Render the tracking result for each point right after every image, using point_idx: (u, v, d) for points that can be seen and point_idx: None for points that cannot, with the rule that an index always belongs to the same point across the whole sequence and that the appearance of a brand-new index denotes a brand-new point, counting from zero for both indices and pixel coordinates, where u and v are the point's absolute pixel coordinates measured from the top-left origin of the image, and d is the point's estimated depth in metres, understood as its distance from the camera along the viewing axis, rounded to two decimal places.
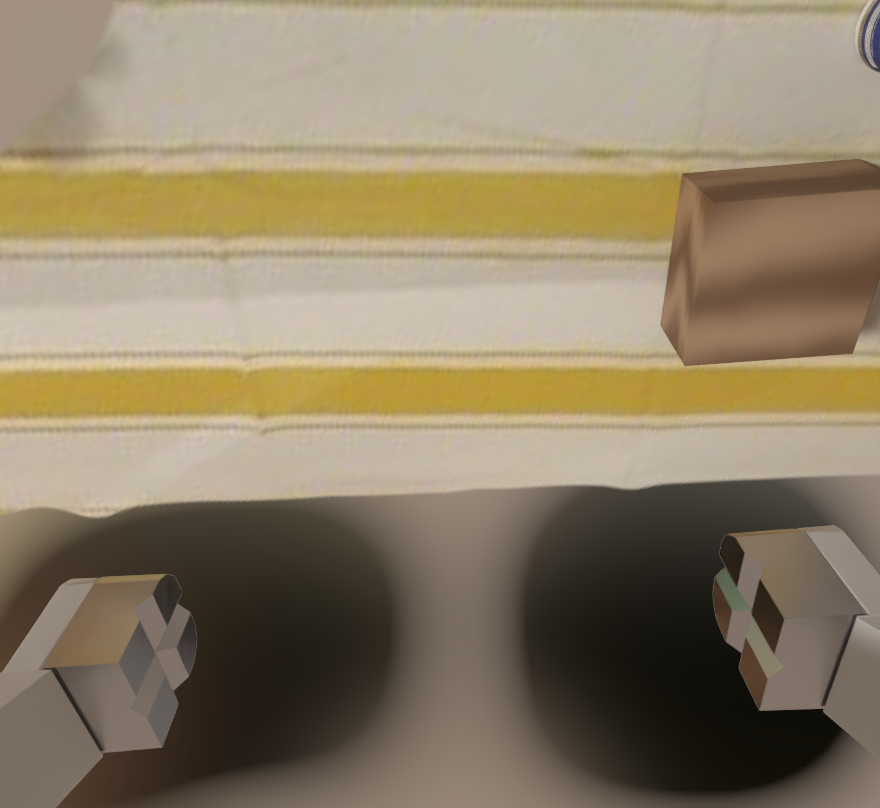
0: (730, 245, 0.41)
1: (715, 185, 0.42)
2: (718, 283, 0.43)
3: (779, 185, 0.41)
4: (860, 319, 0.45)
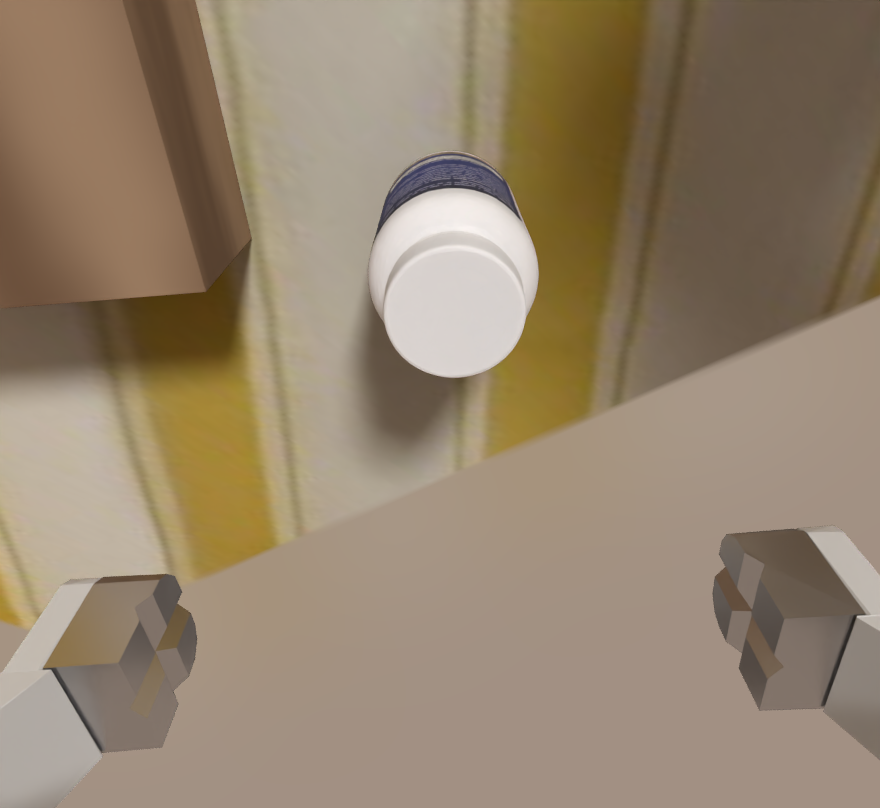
0: None
1: None
2: None
3: (162, 42, 0.19)
4: None
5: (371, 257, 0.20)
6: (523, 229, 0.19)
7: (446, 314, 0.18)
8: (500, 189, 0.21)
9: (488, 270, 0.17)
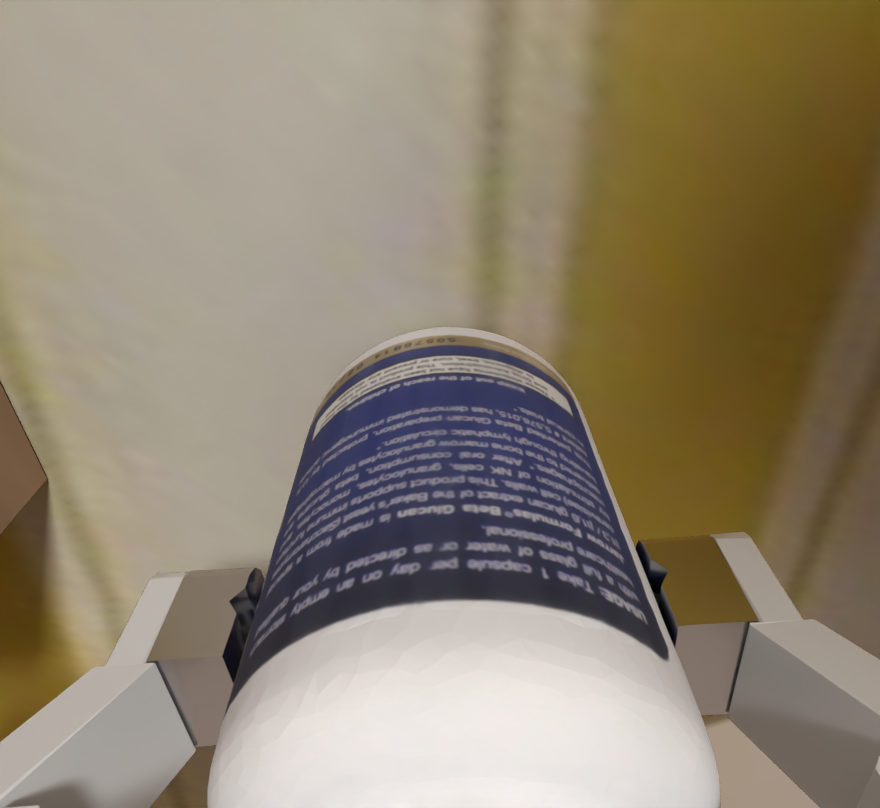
0: None
1: None
2: None
3: None
4: None
5: (209, 788, 0.06)
6: (691, 724, 0.06)
7: None
8: (586, 498, 0.08)
9: None
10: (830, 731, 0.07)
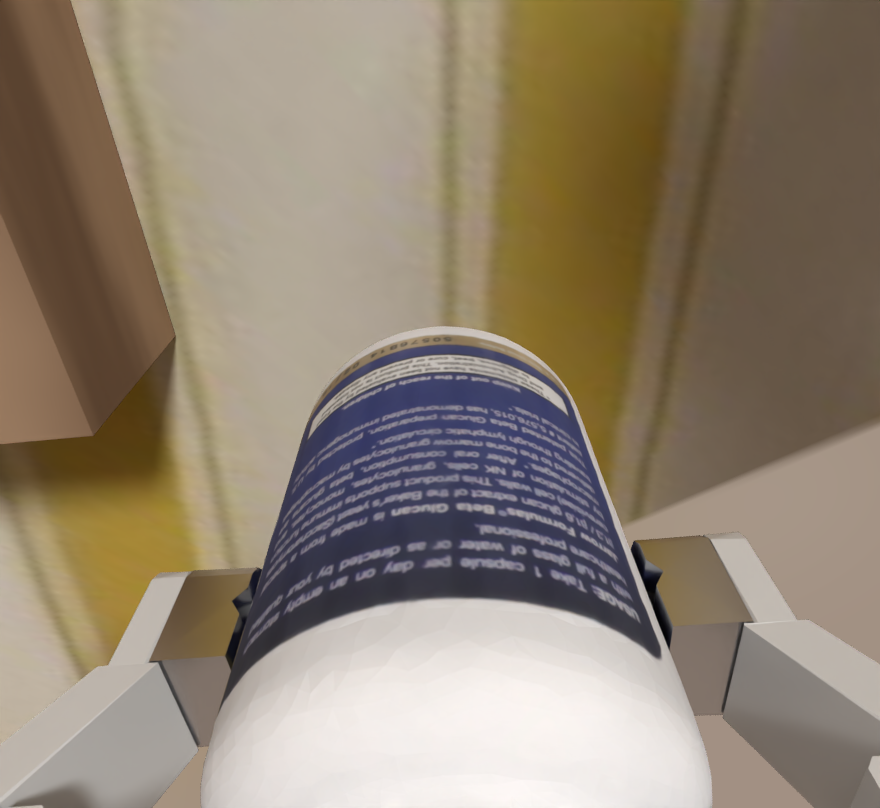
0: None
1: None
2: None
3: (17, 102, 0.14)
4: None
5: (203, 786, 0.06)
6: (682, 722, 0.06)
7: None
8: (580, 497, 0.08)
9: None
10: (824, 731, 0.07)
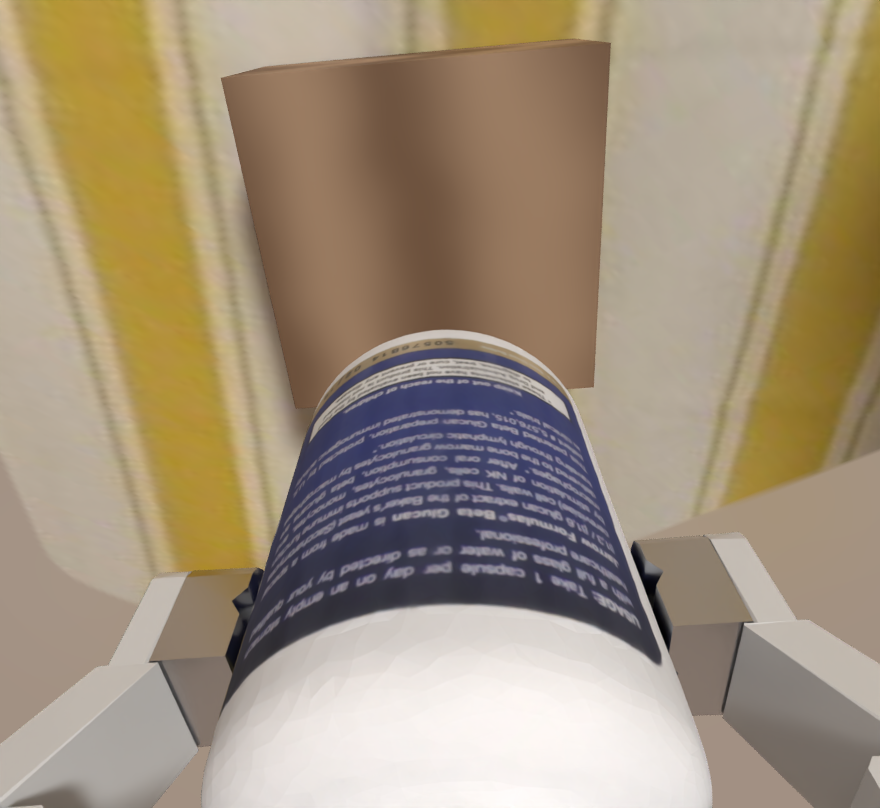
0: (516, 107, 0.20)
1: None
2: (431, 105, 0.20)
3: None
4: None
5: (203, 790, 0.06)
6: (682, 729, 0.06)
7: None
8: (581, 502, 0.08)
9: None
10: (824, 731, 0.07)
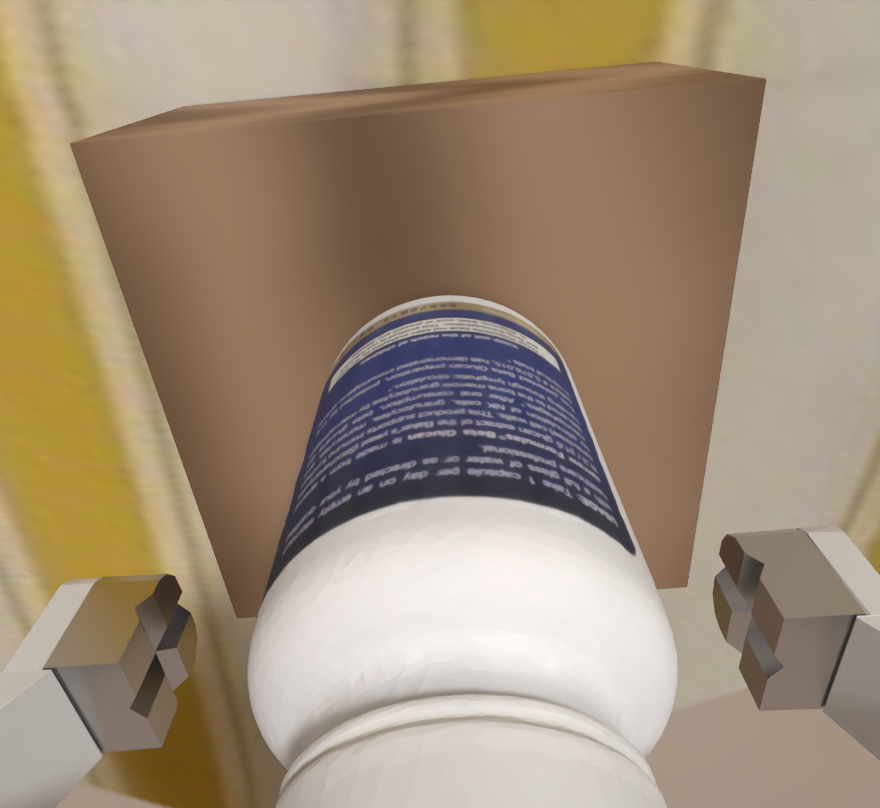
0: (591, 189, 0.12)
1: None
2: (443, 187, 0.12)
3: None
4: None
5: (251, 658, 0.07)
6: (651, 601, 0.07)
7: None
8: (569, 432, 0.09)
9: None
10: None
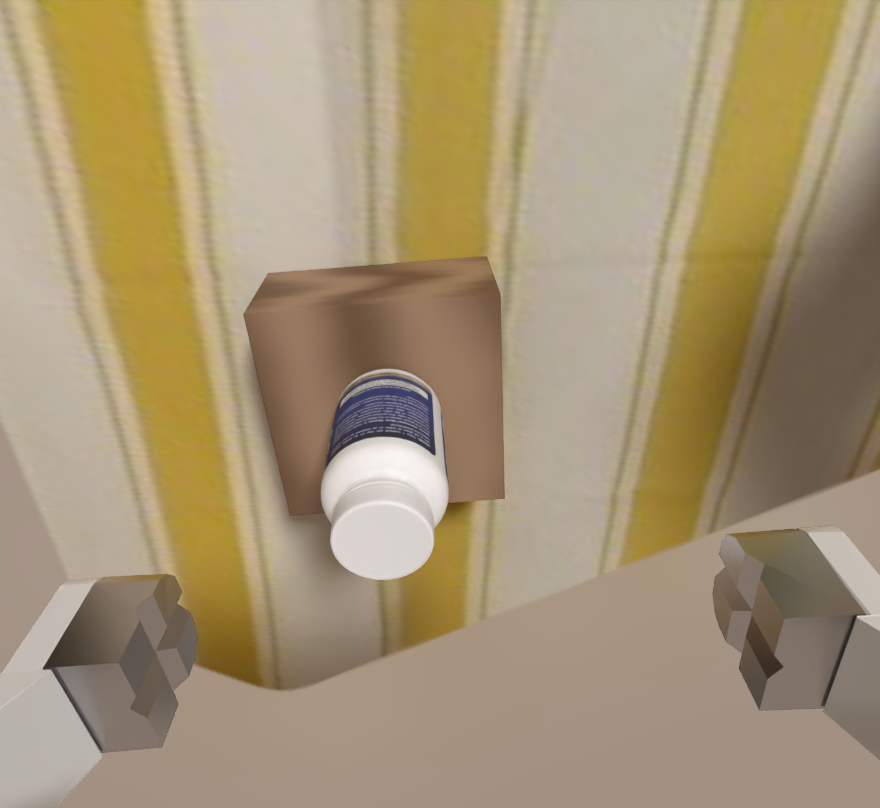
0: (441, 329, 0.31)
1: None
2: (384, 329, 0.31)
3: None
4: None
5: (323, 484, 0.26)
6: (435, 466, 0.26)
7: (376, 542, 0.24)
8: (422, 421, 0.28)
9: (405, 516, 0.24)
10: None
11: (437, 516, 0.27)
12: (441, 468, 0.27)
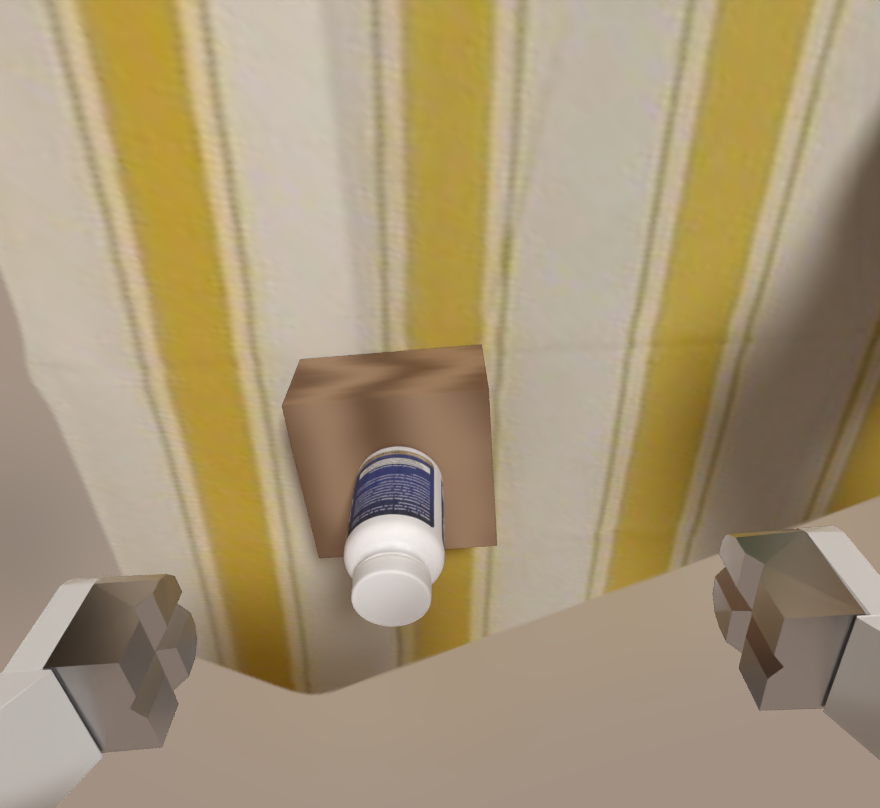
0: (441, 416, 0.38)
1: None
2: (394, 416, 0.38)
3: None
4: None
5: (345, 550, 0.34)
6: (433, 537, 0.33)
7: (386, 599, 0.32)
8: (424, 496, 0.35)
9: (408, 581, 0.31)
10: None
11: (435, 575, 0.34)
12: (438, 537, 0.34)
